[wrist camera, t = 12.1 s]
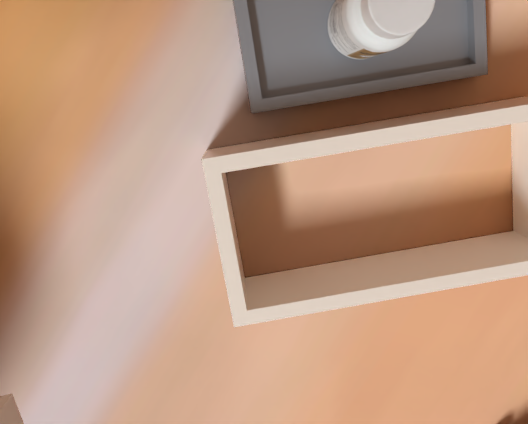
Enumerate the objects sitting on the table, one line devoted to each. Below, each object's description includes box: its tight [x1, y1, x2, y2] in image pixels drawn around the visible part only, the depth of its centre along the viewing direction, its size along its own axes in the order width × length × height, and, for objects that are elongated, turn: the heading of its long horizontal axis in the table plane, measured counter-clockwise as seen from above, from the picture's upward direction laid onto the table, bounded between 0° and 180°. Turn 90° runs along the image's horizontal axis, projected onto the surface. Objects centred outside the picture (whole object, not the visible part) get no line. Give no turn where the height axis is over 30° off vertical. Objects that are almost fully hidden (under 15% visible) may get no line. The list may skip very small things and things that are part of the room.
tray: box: [233, 0, 488, 113], centre depth 29 cm, size 16×9×2 cm, turn 99°
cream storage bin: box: [201, 96, 528, 327], centre depth 30 cm, size 23×11×6 cm, turn 99°
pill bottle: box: [328, 0, 435, 59], centre depth 26 cm, size 4×4×8 cm
